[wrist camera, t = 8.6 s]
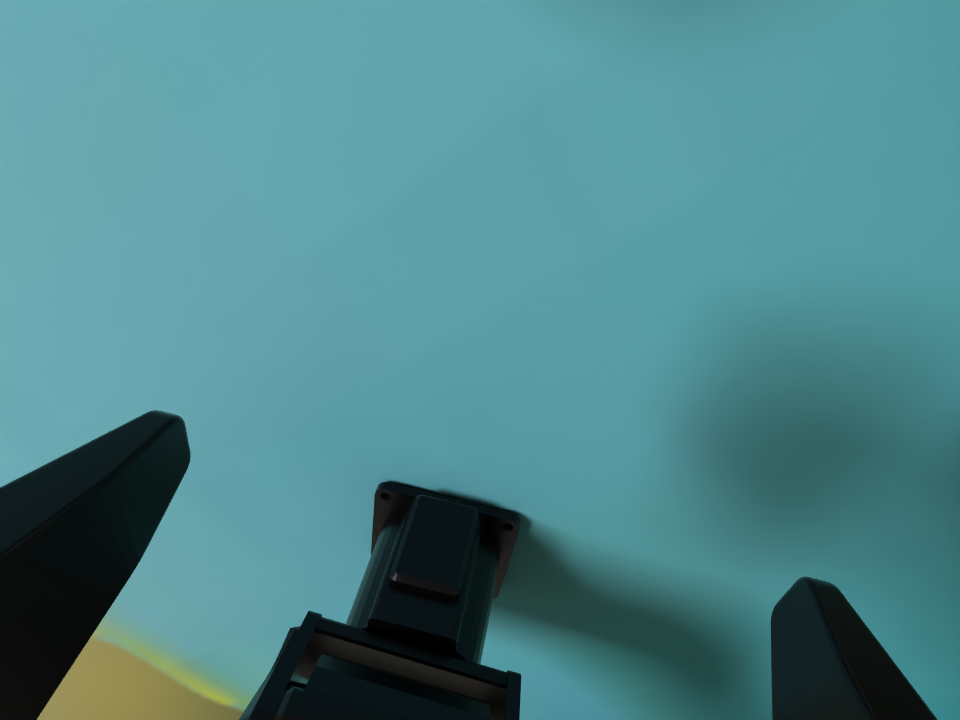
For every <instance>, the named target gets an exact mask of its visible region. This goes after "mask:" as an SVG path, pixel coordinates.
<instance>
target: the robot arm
mask: <svg viewBox="0 0 960 720" xmlns="http://www.w3.org/2000/svg"><path fill="white" fill-rule="evenodd" d="M189 462H190V448H189V443H188V438H187V432H186V427H185V423H184V420H183V419H182V418H181V417H180V416H178V415H174V414H171V413H167V412H163V411H157V410H155V411H150V412H147V413H145V414H143V415H141V416H139V417H137V418H135V419H134V420H132V421H130V422H128V423H126V424H124V425H122V426H120V427H118V428H116V429H114V430H112V431H110V432H108V433H106V434H104V435H102V436H100V437H98V438H96V439H94V440H92V441H90V442H89V443H87V444H85V445H83V446H81V447H79V448H77V449H75V450H73V451H71V452H69V453H67V454H65V455H63V456H61V457H59V458H57V459H55V460H53V461H51V462H49V463H47V464H45V465H44V466H42V467H40V468H38V469H36V470H34V471H32V472H30V473H28V474H26V475H24V476H22V477H20V478H18V479H16V480H14V481H12V482H10V483H8V484H6V485H4V486H2V487H0V720H37V718H38V717H39V715H40V713H41V712H42V710H43V709H44V707H45V706H46V704H47V703H48V701H49V700H50V698H51V697H52V695H53V694H54V692H55V690H56V689H57V687H58V686H59V684H60V683H61V681H62V680H63V678H64V677H65V675H66V674H67V672H68V671H69V669H70V668H71V666H72V665H73V663H74V662H75V660H76V658H77V657H78V655H79V654H80V652H81V651H82V649H83V648H84V646H85V645H86V643H87V642H88V640H89V639H90V637H91V636H92V634H93V633H94V631H95V630H96V628H97V626H98V625H99V623H100V622H101V620H102V619H103V617H104V616H105V614H106V613H107V611H108V610H109V608H110V607H111V605H112V604H113V602H114V601H115V599H116V597H117V596H118V594H119V593H120V591H121V590H122V588H123V587H124V585H125V584H126V582H127V581H128V579H129V578H130V576H131V574H132V573H133V571H134V570H135V568H136V566H137V565H138V563H139V562H140V560H141V558H142V556H143V554H144V552H145V551H146V549H147V547H148V545H149V543H150V541H151V539H152V537H153V535H154V533H155V531H156V529H157V527H158V525H159V523H160V522H161V520H162V518H163V516H164V514H165V512H166V510H167V508H168V506H169V504H170V502H171V500H172V498H173V496H174V494H175V492H176V490H177V488H178V486H179V484H180V482H181V480H182V478H183V477H184V475H185V473H186V471H187V468H188V466H189ZM519 525H520V519H519V517H518V516H516V515H515V514H513V513H510V512H506V511H502V510H498V509H493V508H489V507H485V506H481V505H477V504H473V503H469V502H465V501H461V500H457V499H453V498H449V497H445V496H441V495H437V494H433V493H429V492H425V491H421V490H417V489H413V488H409V487H405V486H401V485H397V484H393V483H388V482H383V483H380V484H379V485H378V488H377V490H376V493H375V501H374V516H373V532H372V548H371V558H370V561H369V563H368V566H367V569H366V571H365V574H364V577H363V579H362V582H361V585H360V587H359V590H358V593H357V595H356V598H355V601H354V603H353V606H352V609H351V611H350V614H349V617H348V620H347V622H346V624H343V623H340V622H337V621H333V620H330V619H327V618H323V617H322V614H319V613H315V612H312V611H308V613H307V615H306V617H305V619H304V621H303V623H302V625H301V626H299V627H294V628H290V630H289V632H288V634H287V637H286V639H285V641H284V643H283V646H282V648H281V650H280V652H279V655H278V657H277V659H276V661H275V663H274V665H273V667H272V669H271V671H270V672H269V674H268V676H267V677H266V679H265V680H264V682H263V683H262V685H261V686H260V688H259V689H258V691H257V693H256V694H255V696H254V697H253V699H252V700H251V702H250V703H249V705H248V706H247V708H246V710H245V711H244V713H243V714H242V716H241V717H240V719H239V720H519V714H520V691H521V674H519V673H516V672H512V671H509V670H508V671H507V672H504V671H500V670H497V669H494V668H490V667H487V666H484V665H480V663H481V658H482V653H483V647H484V642H485V637H486V631H487V626H488V620H489V615H490V610H491V604H492V599H494V598H496V597H497V596H498V594H499V591H500V588H501V584H502V581H503V578H504V575H505V572H506V569H507V565H508V562H509V559H510V556H511V553H512V550H513V546H514V543H515V540H516V537H517V534H518V531H519ZM771 668H772V720H937V718H936V717H935V716H934V714H933V713H932V712H931V710H930V709H929V708H928V706H927V705H926V704H925V702H924V701H923V700H922V698H921V697H920V696H919V695H918V693H917V692H916V691H915V689H914V688H913V687H912V685H911V684H910V683H909V681H908V680H907V679H906V677H905V676H904V675H903V673H902V672H901V671H900V669H899V668H898V667H897V665H896V664H895V663H894V662H893V660H892V659H891V658H890V656H889V655H888V654H887V652H886V651H885V650H884V648H883V647H882V646H881V644H880V643H879V642H878V640H877V639H876V638H875V636H874V635H873V634H872V632H871V631H870V630H869V628H868V627H867V626H866V625H865V623H864V622H863V621H862V619H861V618H860V617H859V615H858V614H857V613H856V611H855V610H854V609H853V607H852V606H851V605H850V603H849V602H848V601H847V599H846V598H845V597H844V595H843V594H842V593H841V592H840V590H839V589H838V588H837V587H836V586H835V585H833V584H831V583H829V582H826V581H822V580H818V579H814V578H810V577H802V578H799V579H798V580H797V581H796V582H795V583H794V584H793V586H792V587H791V588H790V589H789V590H788V591H787V592H786V593H785V595H784V596H783V597H782V598H781V599H780V600H779V601H778V603H777V604H776V605H775V607H774V609H773V612H772V616H771Z"/></svg>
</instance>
